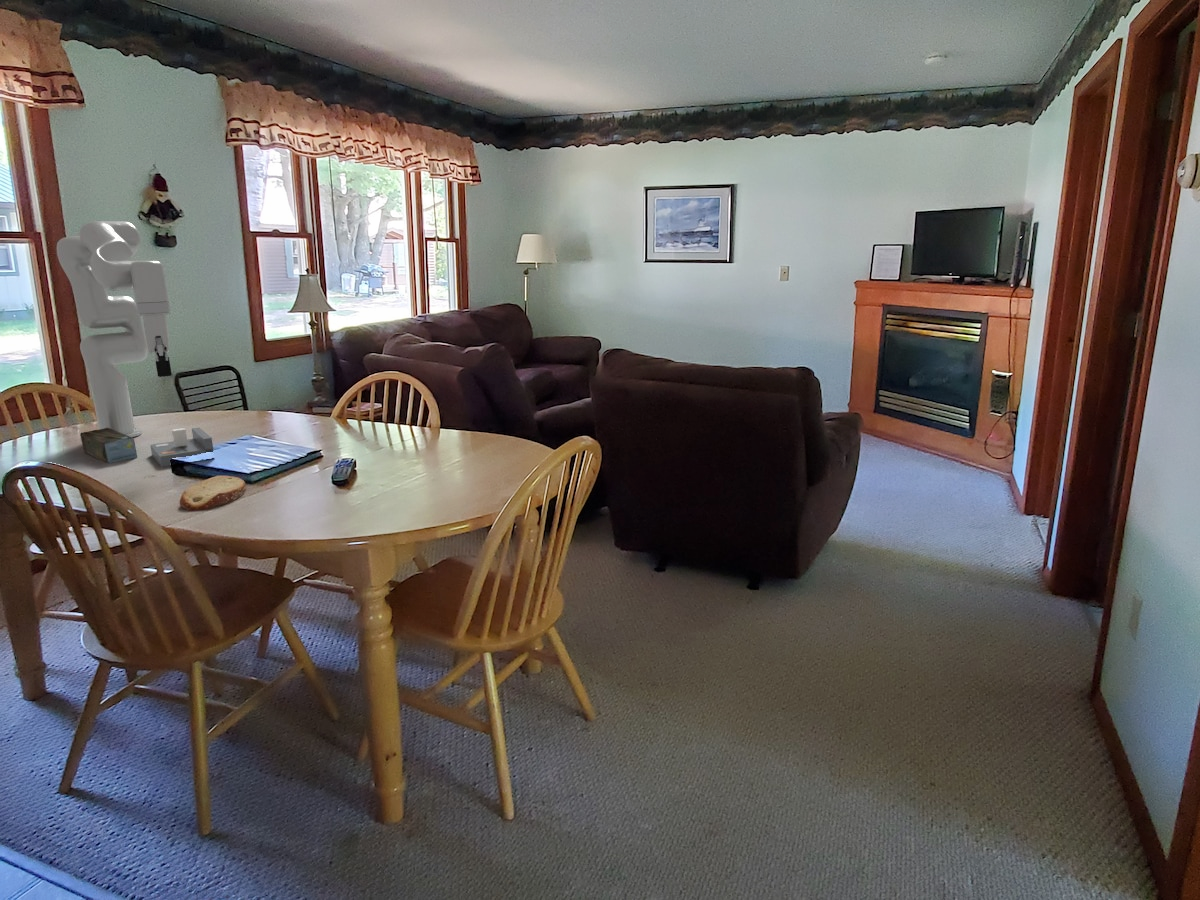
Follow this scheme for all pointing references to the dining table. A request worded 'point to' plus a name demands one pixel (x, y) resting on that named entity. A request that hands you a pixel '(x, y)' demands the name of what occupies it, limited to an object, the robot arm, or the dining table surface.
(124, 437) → the beverage carton
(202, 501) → the bread slice
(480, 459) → the dining table surface
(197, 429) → the grey slide switch panel
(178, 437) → the knob
